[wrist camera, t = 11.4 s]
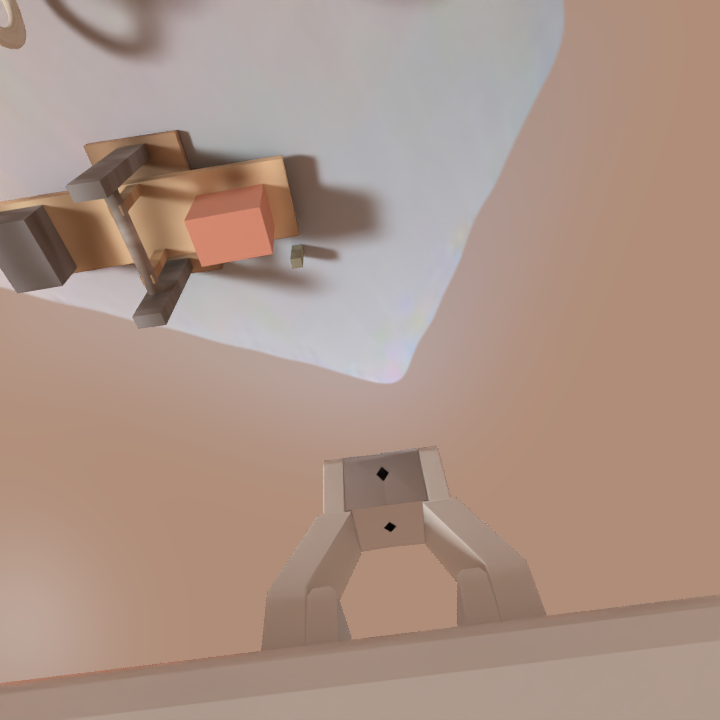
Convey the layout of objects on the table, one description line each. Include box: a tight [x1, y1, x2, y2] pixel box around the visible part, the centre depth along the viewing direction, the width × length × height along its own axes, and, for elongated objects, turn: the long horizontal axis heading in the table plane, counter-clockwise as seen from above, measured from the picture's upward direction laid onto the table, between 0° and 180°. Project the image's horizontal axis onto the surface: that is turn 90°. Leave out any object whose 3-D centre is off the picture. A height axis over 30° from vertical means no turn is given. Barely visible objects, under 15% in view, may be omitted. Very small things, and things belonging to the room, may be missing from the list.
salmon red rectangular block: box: [184, 184, 275, 267], centre depth 40 cm, size 6×4×6 cm, turn 98°
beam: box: [0, 155, 299, 295], centre depth 40 cm, size 26×9×7 cm, turn 97°
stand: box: [66, 130, 304, 329], centre depth 40 cm, size 16×13×11 cm
